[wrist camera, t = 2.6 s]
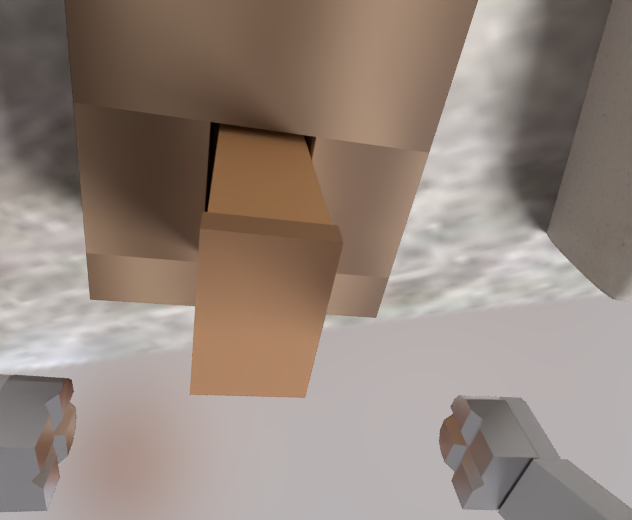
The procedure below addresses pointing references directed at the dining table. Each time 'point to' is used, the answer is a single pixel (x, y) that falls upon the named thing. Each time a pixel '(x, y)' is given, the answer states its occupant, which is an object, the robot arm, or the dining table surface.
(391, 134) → the block
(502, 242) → the dining table surface
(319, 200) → the orange plug
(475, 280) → the dining table surface
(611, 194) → the pale hollow square block
